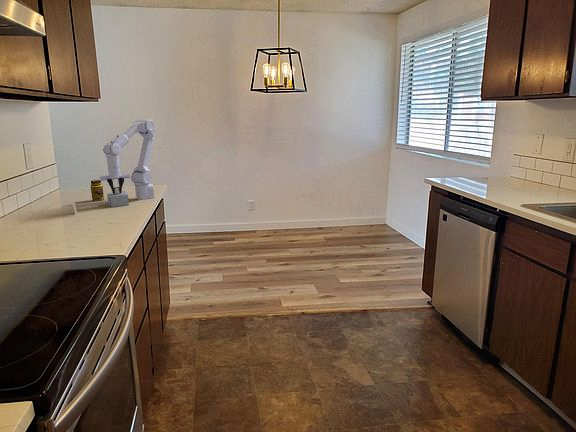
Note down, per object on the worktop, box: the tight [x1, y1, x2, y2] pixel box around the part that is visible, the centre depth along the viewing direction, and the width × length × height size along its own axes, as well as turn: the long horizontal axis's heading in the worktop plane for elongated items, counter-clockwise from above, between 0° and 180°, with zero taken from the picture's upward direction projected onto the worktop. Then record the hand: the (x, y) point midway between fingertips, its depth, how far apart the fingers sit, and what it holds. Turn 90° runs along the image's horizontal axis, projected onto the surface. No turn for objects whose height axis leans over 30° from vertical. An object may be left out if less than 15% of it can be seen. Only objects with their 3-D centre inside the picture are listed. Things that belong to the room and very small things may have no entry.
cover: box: [106, 186, 130, 208], centre depth 227 cm, size 9×10×9 cm
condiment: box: [90, 179, 105, 202], centre depth 239 cm, size 7×8×12 cm
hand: (117, 193), depth 226 cm, fingers closed on cover, 3 cm apart
